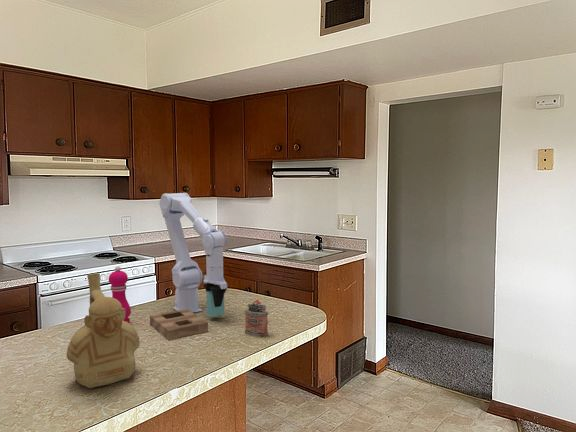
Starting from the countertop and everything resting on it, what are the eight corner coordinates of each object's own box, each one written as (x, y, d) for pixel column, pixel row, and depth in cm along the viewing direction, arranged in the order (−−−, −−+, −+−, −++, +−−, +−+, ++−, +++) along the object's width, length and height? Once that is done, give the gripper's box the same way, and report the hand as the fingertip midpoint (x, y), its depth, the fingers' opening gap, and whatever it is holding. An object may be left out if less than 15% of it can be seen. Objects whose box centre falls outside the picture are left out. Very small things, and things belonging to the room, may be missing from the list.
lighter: (242, 333, 142) (242, 302, 141) (248, 330, 145) (248, 300, 144) (264, 338, 138) (264, 306, 137) (270, 334, 141) (269, 303, 140)
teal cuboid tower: (206, 314, 156) (206, 291, 156) (219, 311, 159) (219, 289, 159) (211, 316, 154) (210, 293, 153) (224, 314, 156) (224, 291, 156)
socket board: (150, 324, 152) (149, 315, 151) (186, 317, 159) (186, 308, 159) (168, 340, 137) (168, 330, 137) (208, 331, 144) (207, 322, 144)
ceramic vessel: (74, 402, 100) (68, 291, 97) (62, 370, 116) (57, 275, 114) (151, 382, 109) (147, 280, 107) (130, 355, 125) (126, 267, 123)
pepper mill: (135, 321, 154) (133, 264, 152) (125, 329, 147) (123, 268, 145) (115, 321, 155) (112, 264, 153) (104, 328, 148) (101, 268, 146)
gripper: (195, 264, 159) (196, 302, 160) (213, 271, 147) (213, 312, 148) (213, 262, 163) (214, 298, 164) (232, 269, 151) (233, 308, 152)
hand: (215, 305), depth 156 cm, fingers closed on teal cuboid tower, 3 cm apart
